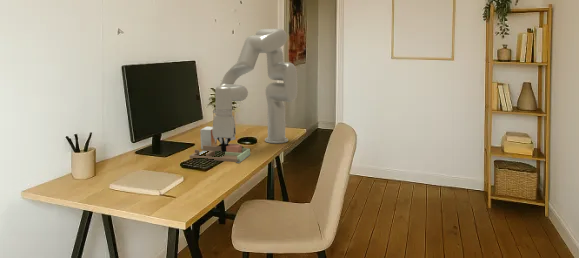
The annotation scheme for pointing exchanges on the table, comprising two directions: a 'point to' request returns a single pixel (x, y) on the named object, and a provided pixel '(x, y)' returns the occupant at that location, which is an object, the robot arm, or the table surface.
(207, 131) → the small box
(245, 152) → the tray
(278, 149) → the table surface
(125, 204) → the table surface
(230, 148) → the block
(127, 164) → the table surface
